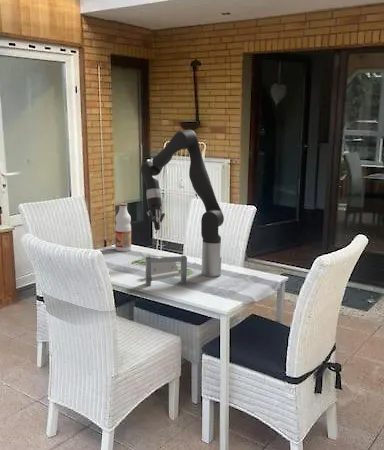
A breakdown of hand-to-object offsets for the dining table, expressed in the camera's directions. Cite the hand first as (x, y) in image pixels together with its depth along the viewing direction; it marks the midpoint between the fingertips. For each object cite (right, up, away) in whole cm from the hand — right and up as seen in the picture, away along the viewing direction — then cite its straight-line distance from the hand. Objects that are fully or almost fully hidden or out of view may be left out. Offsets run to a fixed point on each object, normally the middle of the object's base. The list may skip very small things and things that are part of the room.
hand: (157, 229), depth 262 cm
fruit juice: (-23, -12, +34) cm, 43 cm away
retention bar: (+6, -25, -27) cm, 37 cm away
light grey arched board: (+3, -23, -15) cm, 28 cm away
